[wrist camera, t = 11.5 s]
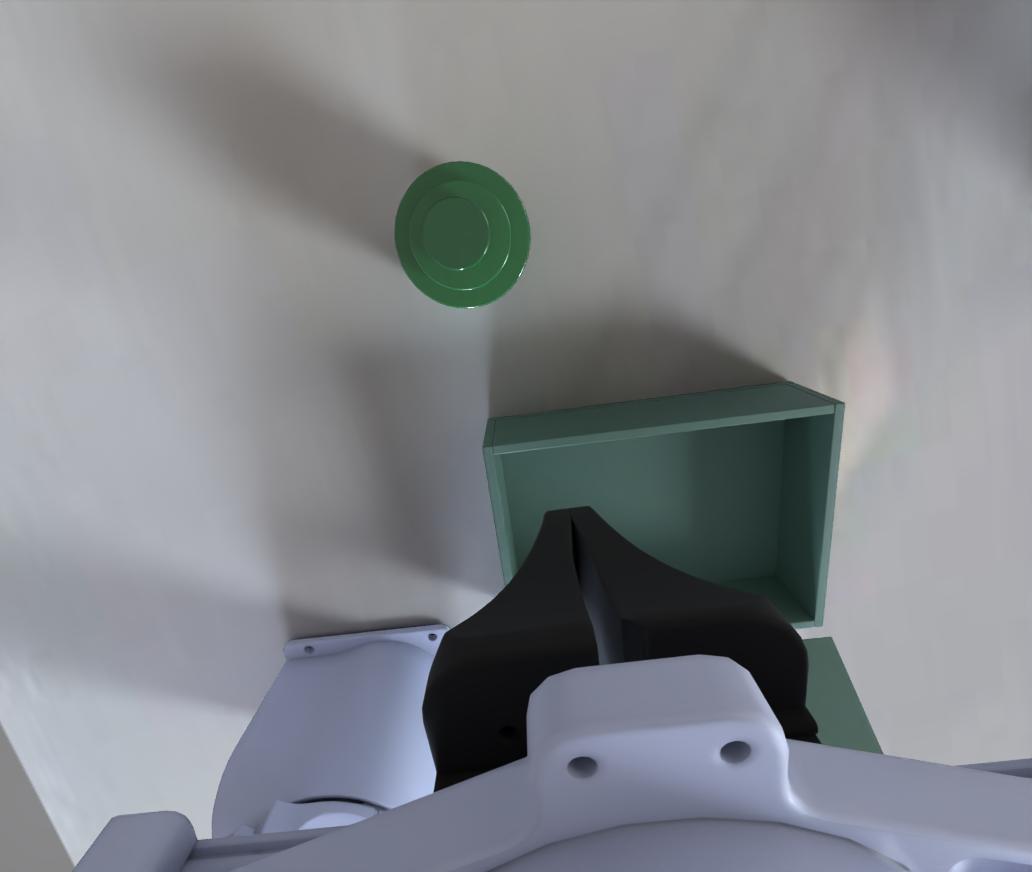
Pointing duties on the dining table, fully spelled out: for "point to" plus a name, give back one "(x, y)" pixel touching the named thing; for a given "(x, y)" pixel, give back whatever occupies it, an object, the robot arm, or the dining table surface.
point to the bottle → (462, 234)
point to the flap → (835, 700)
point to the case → (686, 484)
